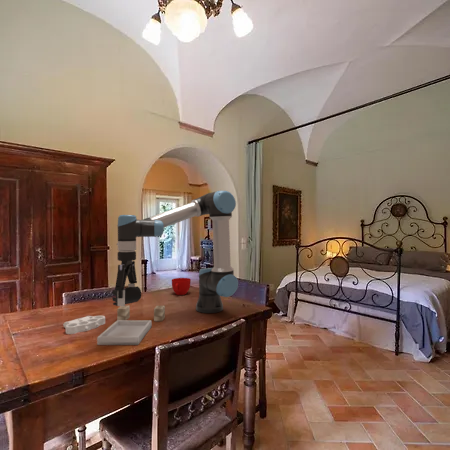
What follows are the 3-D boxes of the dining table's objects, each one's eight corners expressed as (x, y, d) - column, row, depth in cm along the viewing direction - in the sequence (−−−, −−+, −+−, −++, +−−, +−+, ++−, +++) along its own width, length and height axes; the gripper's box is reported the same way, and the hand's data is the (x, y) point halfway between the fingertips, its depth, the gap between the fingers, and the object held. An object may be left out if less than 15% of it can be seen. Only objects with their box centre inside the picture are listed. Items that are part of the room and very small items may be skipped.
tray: (151, 326, 131) (151, 320, 131) (138, 345, 111) (138, 337, 111) (117, 326, 131) (117, 320, 131) (97, 344, 111) (97, 337, 111)
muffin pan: (93, 319, 143) (111, 324, 135) (55, 330, 127) (73, 337, 120) (93, 312, 143) (111, 317, 135) (55, 323, 128) (73, 329, 120)
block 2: (164, 317, 145) (164, 305, 145) (162, 321, 139) (162, 309, 139) (156, 317, 145) (157, 305, 145) (153, 321, 139) (153, 309, 139)
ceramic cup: (166, 297, 186) (166, 282, 186) (175, 291, 202) (175, 277, 202) (185, 298, 183) (185, 282, 183) (192, 292, 200) (192, 278, 200)
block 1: (129, 317, 145) (129, 305, 145) (125, 321, 139) (125, 309, 139) (121, 317, 145) (121, 305, 145) (117, 321, 139) (117, 308, 139)
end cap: (119, 307, 115) (119, 291, 115) (111, 304, 120) (111, 288, 120) (141, 302, 122) (141, 287, 122) (132, 300, 127) (132, 285, 127)
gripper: (127, 248, 133) (127, 295, 133) (106, 253, 109) (105, 310, 109) (143, 248, 133) (143, 295, 133) (125, 253, 109) (125, 310, 109)
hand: (126, 301), depth 121 cm, fingers closed on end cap, 12 cm apart
